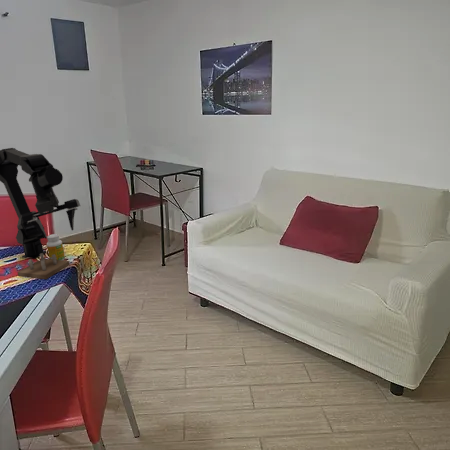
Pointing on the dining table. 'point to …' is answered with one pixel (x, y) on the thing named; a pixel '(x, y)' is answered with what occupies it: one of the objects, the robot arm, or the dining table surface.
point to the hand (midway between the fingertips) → (59, 234)
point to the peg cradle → (43, 267)
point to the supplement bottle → (55, 247)
